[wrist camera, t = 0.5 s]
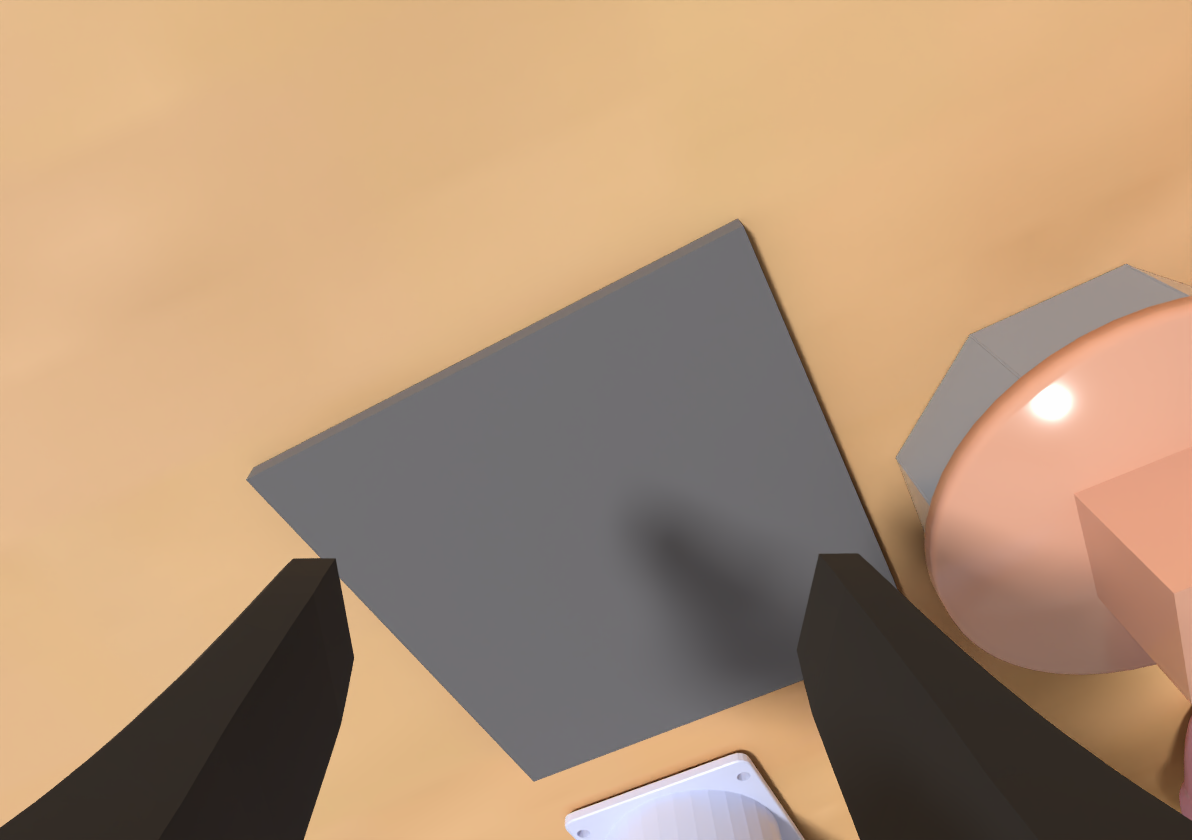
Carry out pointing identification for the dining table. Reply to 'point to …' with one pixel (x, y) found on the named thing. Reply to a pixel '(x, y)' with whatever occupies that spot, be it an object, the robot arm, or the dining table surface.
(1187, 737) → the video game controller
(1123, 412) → the lid
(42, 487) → the dining table surface
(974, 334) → the bowl
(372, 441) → the mat
